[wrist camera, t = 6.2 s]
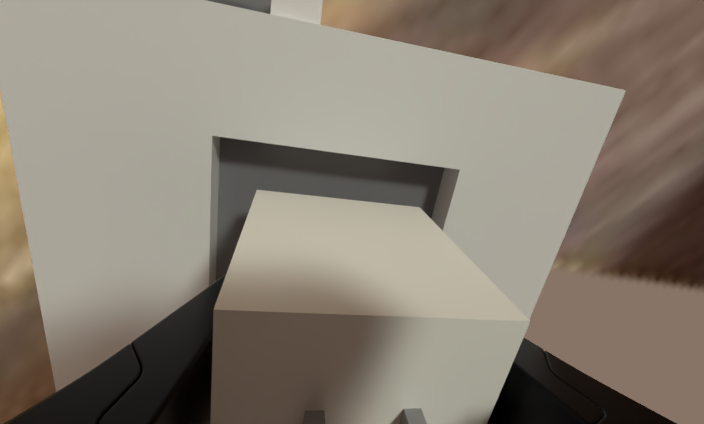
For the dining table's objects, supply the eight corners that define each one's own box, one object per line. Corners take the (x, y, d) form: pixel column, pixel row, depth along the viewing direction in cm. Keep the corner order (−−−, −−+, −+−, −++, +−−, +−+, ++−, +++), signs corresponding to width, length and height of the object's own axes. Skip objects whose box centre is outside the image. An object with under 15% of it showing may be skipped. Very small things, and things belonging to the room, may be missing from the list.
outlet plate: (592, 89, 11) (625, 90, 10) (477, 385, 15) (491, 409, 14) (20, -31, 8) (-26, -50, 7) (82, 388, 12) (60, 419, 11)
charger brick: (419, 207, 10) (581, 374, 4) (387, 333, 11) (476, 576, 6) (257, 189, 9) (190, 373, 3) (247, 330, 10) (190, 615, 5)
